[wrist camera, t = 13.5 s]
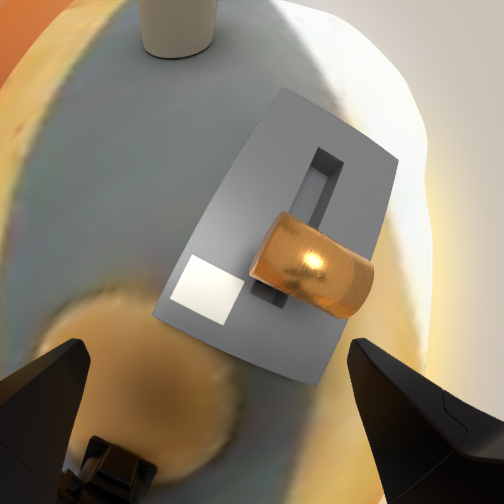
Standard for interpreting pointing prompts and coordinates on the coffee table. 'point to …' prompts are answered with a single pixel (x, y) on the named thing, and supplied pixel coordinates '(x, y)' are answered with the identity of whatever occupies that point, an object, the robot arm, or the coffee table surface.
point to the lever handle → (312, 267)
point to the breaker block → (257, 224)
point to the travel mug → (177, 26)
